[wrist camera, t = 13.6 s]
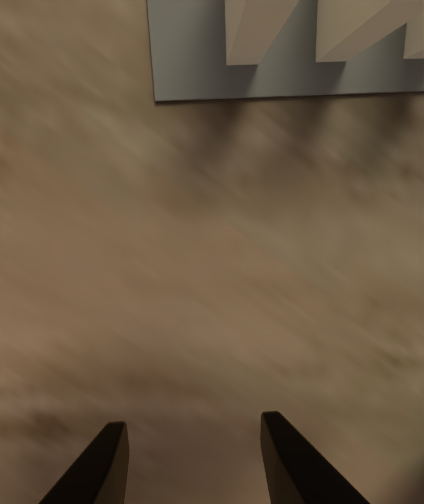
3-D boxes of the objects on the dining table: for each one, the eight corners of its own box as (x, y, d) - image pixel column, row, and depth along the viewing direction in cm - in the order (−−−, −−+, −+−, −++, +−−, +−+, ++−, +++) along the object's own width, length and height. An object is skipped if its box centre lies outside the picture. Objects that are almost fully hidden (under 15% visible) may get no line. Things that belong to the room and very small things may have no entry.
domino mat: (658, 82, 18) (665, 81, 18) (155, 101, 18) (154, 100, 17) (710, -102, 16) (720, -107, 16) (140, -89, 16) (139, -93, 15)
